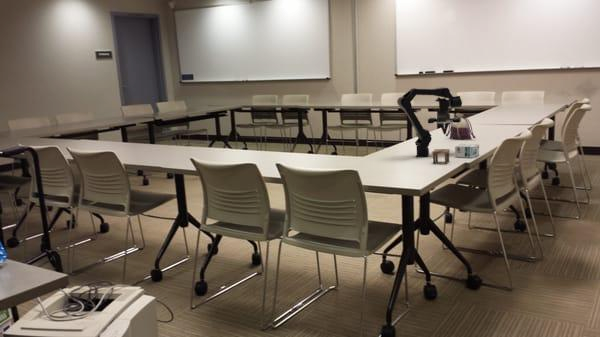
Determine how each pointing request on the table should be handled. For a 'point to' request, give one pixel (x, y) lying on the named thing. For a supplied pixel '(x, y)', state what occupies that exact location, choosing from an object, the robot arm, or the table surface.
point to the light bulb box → (467, 150)
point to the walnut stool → (440, 151)
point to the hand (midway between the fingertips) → (444, 134)
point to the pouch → (460, 129)
